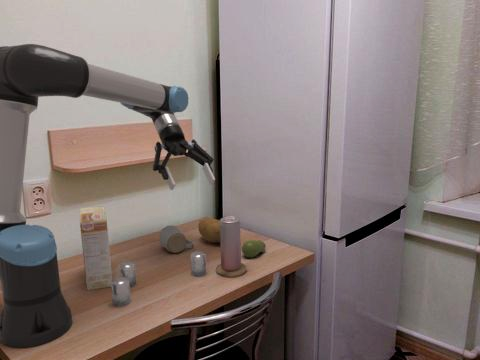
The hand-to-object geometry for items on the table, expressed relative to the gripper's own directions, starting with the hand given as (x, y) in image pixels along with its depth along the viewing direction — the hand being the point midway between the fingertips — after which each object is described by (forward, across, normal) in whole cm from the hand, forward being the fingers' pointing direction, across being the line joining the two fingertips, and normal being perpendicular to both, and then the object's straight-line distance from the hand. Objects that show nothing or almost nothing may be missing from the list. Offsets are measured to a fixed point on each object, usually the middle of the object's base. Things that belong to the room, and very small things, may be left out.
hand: (193, 184), depth 128 cm
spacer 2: (+23, +3, -12) cm, 26 cm away
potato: (+9, -15, -26) cm, 31 cm away
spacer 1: (+26, +28, -11) cm, 39 cm away
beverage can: (+26, -5, -8) cm, 27 cm away
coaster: (+26, -6, -9) cm, 28 cm away
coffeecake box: (+13, +28, -24) cm, 39 cm away
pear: (+22, -19, -13) cm, 32 cm away
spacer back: (+19, +22, -17) cm, 34 cm away
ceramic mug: (+8, -1, -28) cm, 29 cm away
